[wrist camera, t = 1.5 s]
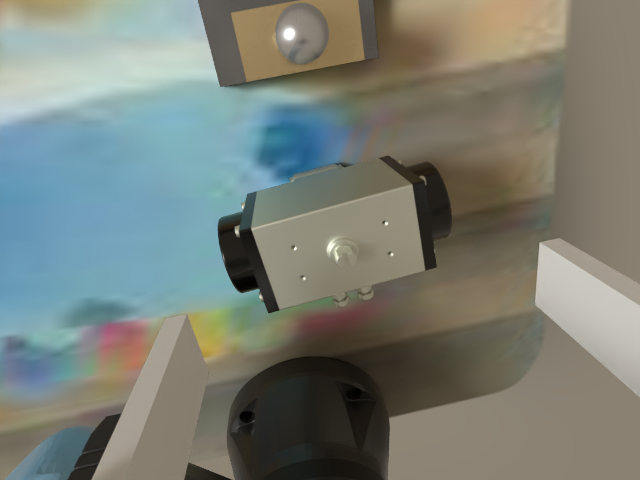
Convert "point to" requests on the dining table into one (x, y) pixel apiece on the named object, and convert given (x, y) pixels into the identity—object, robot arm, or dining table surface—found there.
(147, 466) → the robot arm
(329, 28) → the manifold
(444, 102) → the dining table surface
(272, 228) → the pneumatic valve
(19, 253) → the dining table surface
